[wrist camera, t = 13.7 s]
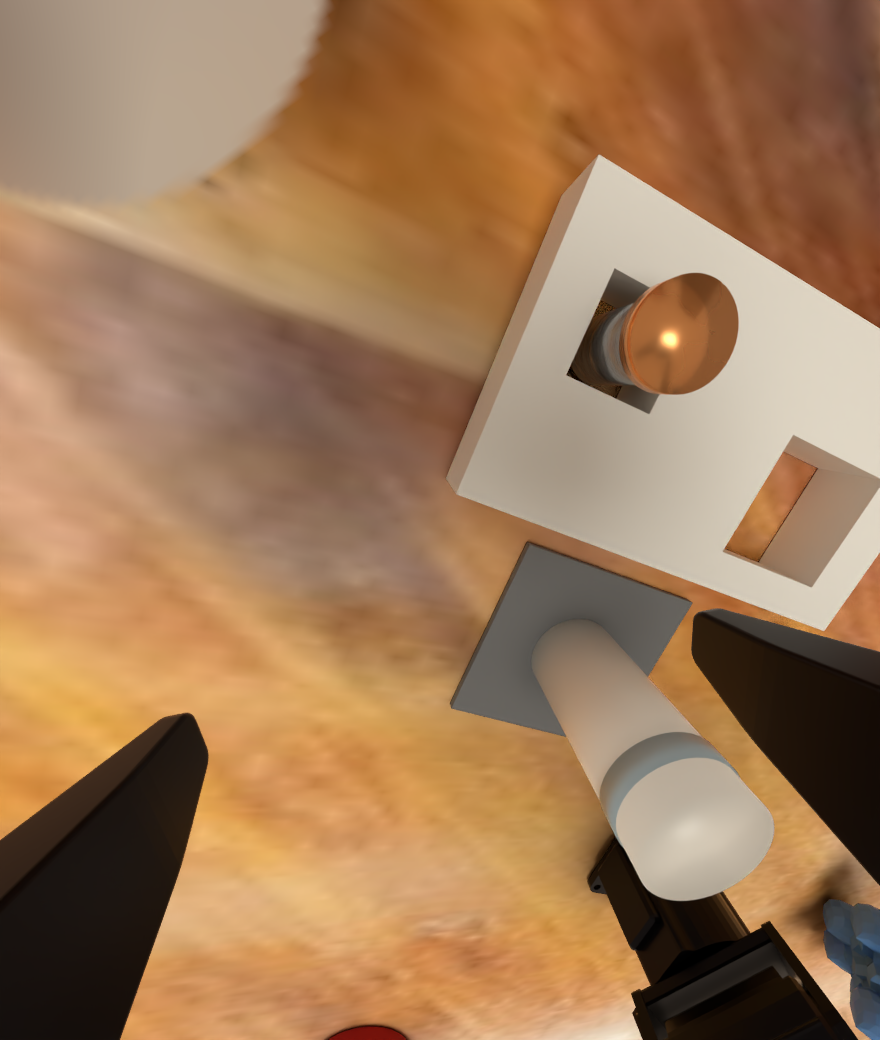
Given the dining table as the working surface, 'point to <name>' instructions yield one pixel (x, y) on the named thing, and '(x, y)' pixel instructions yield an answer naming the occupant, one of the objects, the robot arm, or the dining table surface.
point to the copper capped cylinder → (662, 338)
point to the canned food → (369, 1034)
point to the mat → (545, 603)
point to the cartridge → (650, 768)
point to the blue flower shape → (857, 958)
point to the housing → (683, 411)
